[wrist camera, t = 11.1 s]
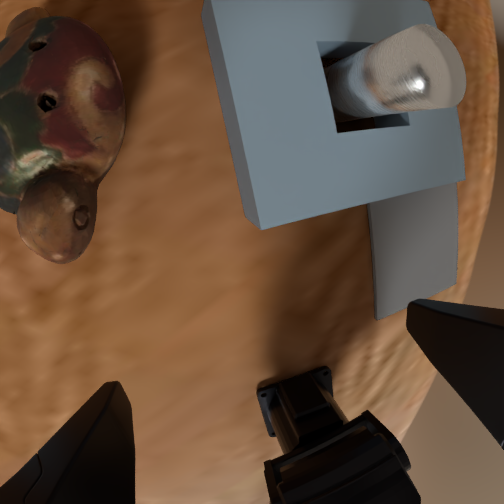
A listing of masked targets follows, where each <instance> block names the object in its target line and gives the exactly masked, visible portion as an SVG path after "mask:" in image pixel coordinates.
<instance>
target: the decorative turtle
mask: <svg viewBox="0 0 504 504" xmlns="http://www.w3.org/2000/svg"><path fill="white" fill-rule="evenodd" d="M125 123H126V110H125V96H124V91H123V84H122V80H121V76H120V73H119V70H118V67H117V64H116V61H115V59H114V57H113V55H112V53H111V51H110V50H109V48H108V46H107V45H106V43H105V42H104V41H103V39H102V38H101V37H100V36H99V35H98V34H97V33H96V32H95V31H94V30H93V29H92V28H91V27H90V26H88V25H86V24H85V23H83V22H81V21H79V20H76V19H73V18H70V17H63V16H52V17H50V15H49V13H48V12H47V11H46V10H45V9H43V8H40V7H33V8H30V9H27V10H25V11H23V12H22V13H20V14H19V15H17V16H16V17H15V18H14V19H13V20H12V21H11V22H10V24H9V26H8V28H7V31H6V36H5V39H3V40H2V41H1V42H0V208H1V209H3V210H4V211H6V212H10V213H13V214H16V215H17V228H18V231H19V234H20V236H21V238H22V240H23V241H24V242H25V244H26V245H27V246H28V247H29V248H30V249H31V250H32V251H34V252H35V253H36V254H38V255H40V256H41V257H43V258H44V259H46V260H49V261H51V262H54V263H58V264H65V263H69V262H71V261H74V260H76V259H77V258H78V257H80V256H81V255H82V254H83V253H84V251H85V249H86V248H87V246H88V244H89V242H90V241H91V238H92V235H93V232H94V226H95V221H96V213H97V189H98V186H99V184H100V182H101V181H102V180H103V178H104V177H105V175H106V174H107V172H108V171H109V170H110V168H111V167H112V165H113V163H114V161H115V160H116V157H117V155H118V152H119V150H120V147H121V145H122V141H123V137H124V133H125Z"/></svg>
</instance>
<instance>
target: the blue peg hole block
mask: <svg viewBox="0 0 504 504" xmlns="http://www.w3.org/2000/svg"><path fill="white" fill-rule="evenodd" d="M201 17H202V21H203V26H204V30H205V35H206V39H207V44H208V48H209V53H210V58H211V62H212V67H213V71H214V76H215V80H216V85H217V89H218V94H219V99H220V103H221V108H222V112H223V117H224V121H225V126H226V131H227V135H228V140H229V144H230V149H231V153H232V158H233V163H234V167H235V172H236V176H237V181H238V186H239V190H240V195H241V199H242V204H243V208H244V213H245V217H246V218H247V219H248V220H249V221H251V222H252V223H253V224H254V225H256V226H257V227H258V228H259V229H260V230H264V229H268V228H272V227H275V226H279V225H283V224H287V223H291V222H295V221H299V220H303V219H306V218H310V217H314V216H318V215H322V214H326V213H330V212H334V211H338V210H342V209H346V208H350V207H354V206H358V205H362V204H366V203H370V202H374V201H379V200H383V199H387V198H391V197H395V196H399V195H403V194H408V193H412V192H416V191H420V190H424V189H429V188H433V187H437V186H441V185H446V184H450V183H454V182H459V181H463V180H465V167H464V156H463V147H462V138H461V131H460V124H459V117H458V111H457V106H454V107H451V108H440V109H430V110H420V111H412V112H404V113H396V114H389V115H382V116H375V117H374V123H375V128H376V129H367V130H358V131H350V132H342V133H337V130H336V125H335V120H334V115H333V110H332V105H331V100H330V96H329V91H328V87H327V83H326V78H325V74H324V70H323V66H322V62H321V59H322V58H346V57H348V56H350V55H352V54H354V53H356V52H358V51H360V50H362V49H364V48H366V47H368V46H370V45H372V44H374V43H376V42H378V41H381V40H383V39H385V38H387V37H389V36H392V35H394V34H396V33H398V32H401V31H403V30H405V29H408V28H410V27H412V26H415V25H418V24H428V25H431V26H433V27H435V28H437V26H436V23H435V20H434V17H433V14H432V11H431V8H430V5H429V3H428V2H426V1H422V0H204V4H203V9H202V13H201Z"/></svg>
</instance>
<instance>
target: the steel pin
mask: <svg viewBox="0 0 504 504" xmlns="http://www.w3.org/2000/svg"><path fill="white" fill-rule="evenodd" d="M323 70H324V74H325V78H326V83H327V87H328V91H329V96H330V100H331V105H332V110H333V115H334V120H335V122H345V121H351V120H357V119H363V118H369V117H375V116H382V115H389V114H396V113H404V112H412V111H420V110H430V109H440V108H451V107H454V106H456V105H458V104H459V103H460V102H461V100H462V99H463V97H464V94H465V90H466V73H465V68H464V65H463V62H462V59H461V57H460V55H459V53H458V51H457V49H456V47H455V46H454V44H453V43H452V42H451V40H450V39H449V38H448V37H447V36H446V35H445V34H444V33H443V32H441V31H440V30H439V29H437V28H435V27H433V26H431V25H428V24H418V25H415V26H412V27H410V28H408V29H405V30H403V31H401V32H398V33H396V34H394V35H392V36H389V37H387V38H385V39H383V40H381V41H378V42H376V43H374V44H372V45H370V46H368V47H366V48H364V49H362V50H360V51H358V52H356V53H354V54H352V55H350V56H348V57H346V58H344V59H342V60H340V61H338V62H336V63H334V64H332V65H331V66H329V67H327V68H325V69H323Z"/></svg>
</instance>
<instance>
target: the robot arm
mask: <svg viewBox="0 0 504 504" xmlns="http://www.w3.org/2000/svg"><path fill="white" fill-rule="evenodd" d="M406 327H407V330H408V332H409V333H410V334H411V336H412V337H413V339H414V340H415V341H416V343H417V344H418V345H419V347H420V348H421V350H422V351H423V352H424V354H425V355H426V357H427V358H428V359H429V361H430V362H431V363H432V364H433V366H434V367H435V368H436V369H437V370H438V371H439V372H440V374H441V375H442V376H443V377H444V378H445V379H446V380H447V382H448V383H449V384H450V385H451V386H452V387H453V388H454V390H455V391H456V392H457V393H458V394H459V396H460V397H461V398H462V399H463V400H464V402H465V403H466V404H467V405H468V406H469V407H470V409H471V410H472V411H473V412H474V413H475V415H476V416H477V417H478V418H479V420H480V421H481V422H482V423H483V424H484V426H485V427H486V428H487V429H488V431H489V432H490V433H491V434H492V436H493V437H494V438H495V439H496V441H497V442H498V443H499V444H500V446H502V449H503V450H504V309H496V308H488V307H481V306H473V305H465V304H458V303H450V302H443V301H435V300H428V299H421V298H419V299H416V300H413V301H411V302H409V303H408V306H407V319H406ZM325 371H326V372H325ZM324 372H325V373H324ZM262 393H264V394H262ZM256 394H257V397H258V401H259V404H260V408H261V411H262V414H263V418H264V421H265V424H266V428H267V431H268V434H269V436H270V437H277V439H278V441H279V444H280V446H281V449H282V451H283V453H284V455H282V456H280V457H277V458H275V459H273V460H268V461H265V462H264V466H265V470H264V474H265V475H264V476H265V479H266V483H267V488H268V493H269V497H270V504H421V497H420V495H419V493H418V492H417V489H416V488H415V486H414V484H413V482H412V481H411V479H410V477H409V475H408V474H407V471H408V470H410V468H411V465H410V461H409V459H408V456H407V454H406V453H405V450H404V449H403V447H402V445H401V444H400V443H399V441H398V440H397V439H396V437H395V436H394V435H393V434H392V433H391V432H390V431H389V430H388V429H387V428H386V427H385V426H384V425H383V424H382V423H381V422H380V421H379V420H378V419H377V418H376V417H375V416H374V415H373V414H372V413H371V412H370V411H368V410H366V411H364V412H363V413H361V415H360V416H358V417H356V418H355V419H353V420H351V421H348V419H347V418H346V416H345V415H344V413H343V412H342V410H341V409H340V407H339V406H338V404H337V403H336V401H335V400H334V399H333V389H332V376H331V370H330V368H329V367H328V366H324V367H321V368H318V369H316V370H313V371H310V372H307V373H305V374H302V375H299V376H296V377H293V378H290V379H287V380H284V381H281V382H278V383H275V384H272V385H269V386H266V387H263V388H260V389H259V390H257V392H256ZM0 504H135V443H134V432H133V420H132V408H131V404H130V401H129V399H128V397H127V395H126V393H125V391H124V389H123V387H122V385H121V384H120V382H118V381H112V382H106V383H104V384H103V385H102V386H101V387H100V388H99V389H98V390H97V391H96V392H95V393H94V394H93V395H92V396H91V397H90V398H89V400H88V401H87V402H86V403H85V404H84V405H83V406H82V407H81V408H80V409H79V410H78V411H77V412H76V413H75V414H74V415H73V416H72V417H71V418H70V419H69V420H68V421H67V422H66V423H65V424H64V425H63V426H62V427H61V428H60V429H59V430H58V431H57V432H56V433H55V434H54V435H53V436H52V437H51V438H50V439H49V441H48V442H47V443H46V444H45V445H44V446H43V447H42V448H41V449H40V450H39V451H38V454H37V453H36V454H35V455H34V456H33V457H32V458H31V459H30V460H29V461H28V462H27V463H26V464H25V465H24V466H23V467H22V468H21V469H20V470H19V471H18V472H17V473H16V474H15V475H14V476H13V477H11V478H10V479H9V480H8V481H7V482H6V483H5V484H3V485H2V486H1V487H0Z"/></svg>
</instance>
